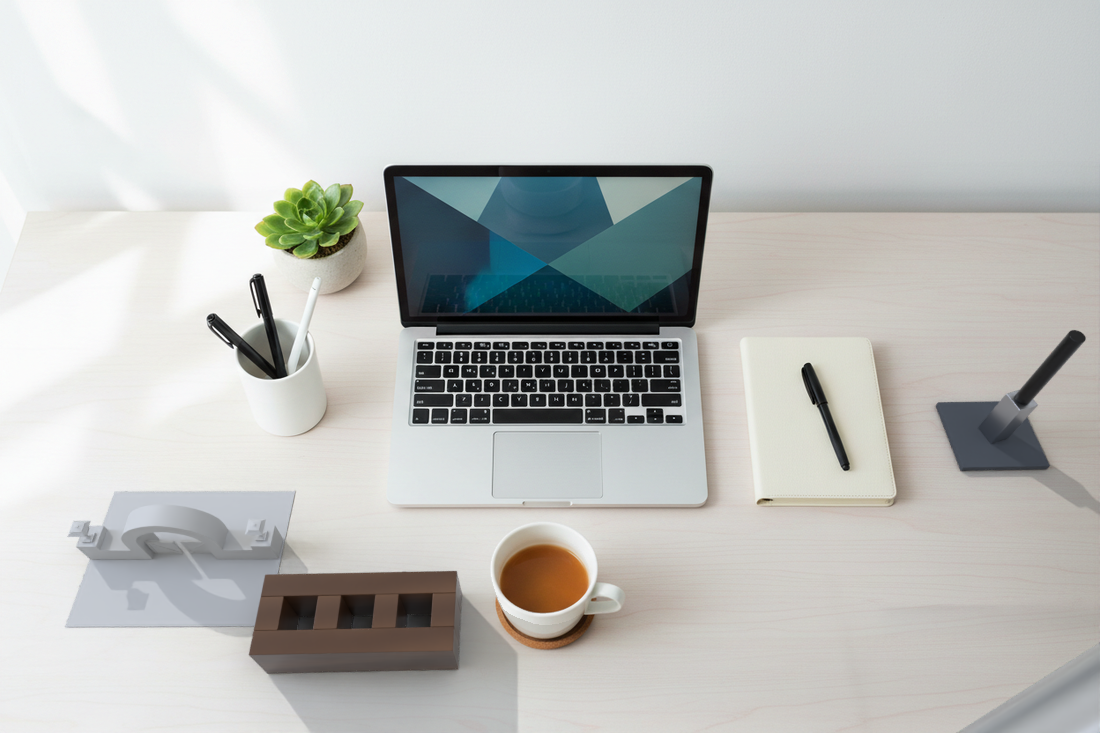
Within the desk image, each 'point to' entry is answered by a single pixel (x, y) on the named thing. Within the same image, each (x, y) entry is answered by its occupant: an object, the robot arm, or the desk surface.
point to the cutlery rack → (332, 630)
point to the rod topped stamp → (1028, 392)
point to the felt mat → (975, 447)
